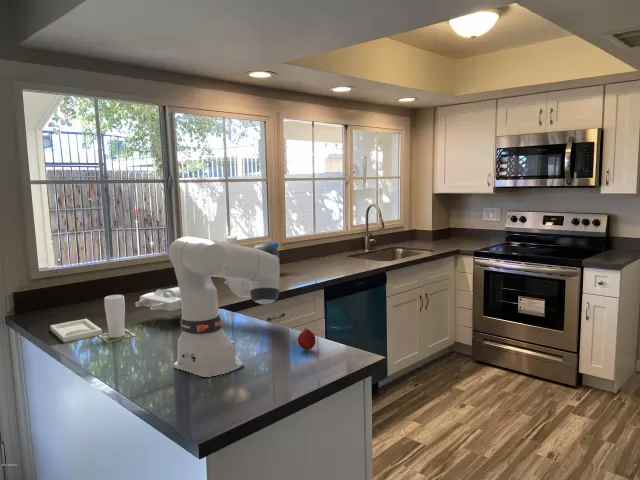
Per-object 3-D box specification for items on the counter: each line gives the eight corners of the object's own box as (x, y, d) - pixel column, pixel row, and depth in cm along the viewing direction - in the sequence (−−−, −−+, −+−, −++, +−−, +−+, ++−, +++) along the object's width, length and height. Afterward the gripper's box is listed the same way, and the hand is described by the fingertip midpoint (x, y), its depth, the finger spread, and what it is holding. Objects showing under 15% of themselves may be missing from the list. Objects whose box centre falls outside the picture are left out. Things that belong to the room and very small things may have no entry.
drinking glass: (105, 340, 171) (102, 299, 169) (108, 334, 178) (105, 295, 176) (125, 338, 173) (122, 298, 171) (128, 332, 179) (125, 294, 178)
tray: (102, 334, 177) (101, 329, 177) (63, 342, 169) (63, 337, 169) (86, 323, 192) (86, 318, 192) (50, 330, 184) (50, 325, 184)
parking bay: (136, 336, 175) (135, 335, 175) (107, 342, 168) (107, 341, 168) (126, 330, 182) (126, 329, 182) (98, 336, 176) (98, 335, 176)
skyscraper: (222, 281, 269) (220, 233, 266) (236, 280, 273) (235, 232, 269) (226, 284, 262) (224, 234, 258) (240, 283, 265) (238, 233, 262)
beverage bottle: (277, 277, 278) (276, 244, 276) (264, 277, 280) (262, 243, 277) (281, 274, 286) (280, 242, 284) (268, 274, 288) (267, 242, 286)
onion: (306, 346, 160) (305, 323, 159) (319, 350, 157) (319, 327, 156) (294, 351, 156) (294, 328, 155) (307, 355, 152) (307, 331, 151)
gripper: (190, 309, 190) (161, 318, 179) (157, 303, 202) (128, 310, 190) (189, 294, 189) (160, 301, 178) (156, 288, 201) (127, 295, 189)
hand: (143, 306), depth 184 cm, fingers open, 8 cm apart
